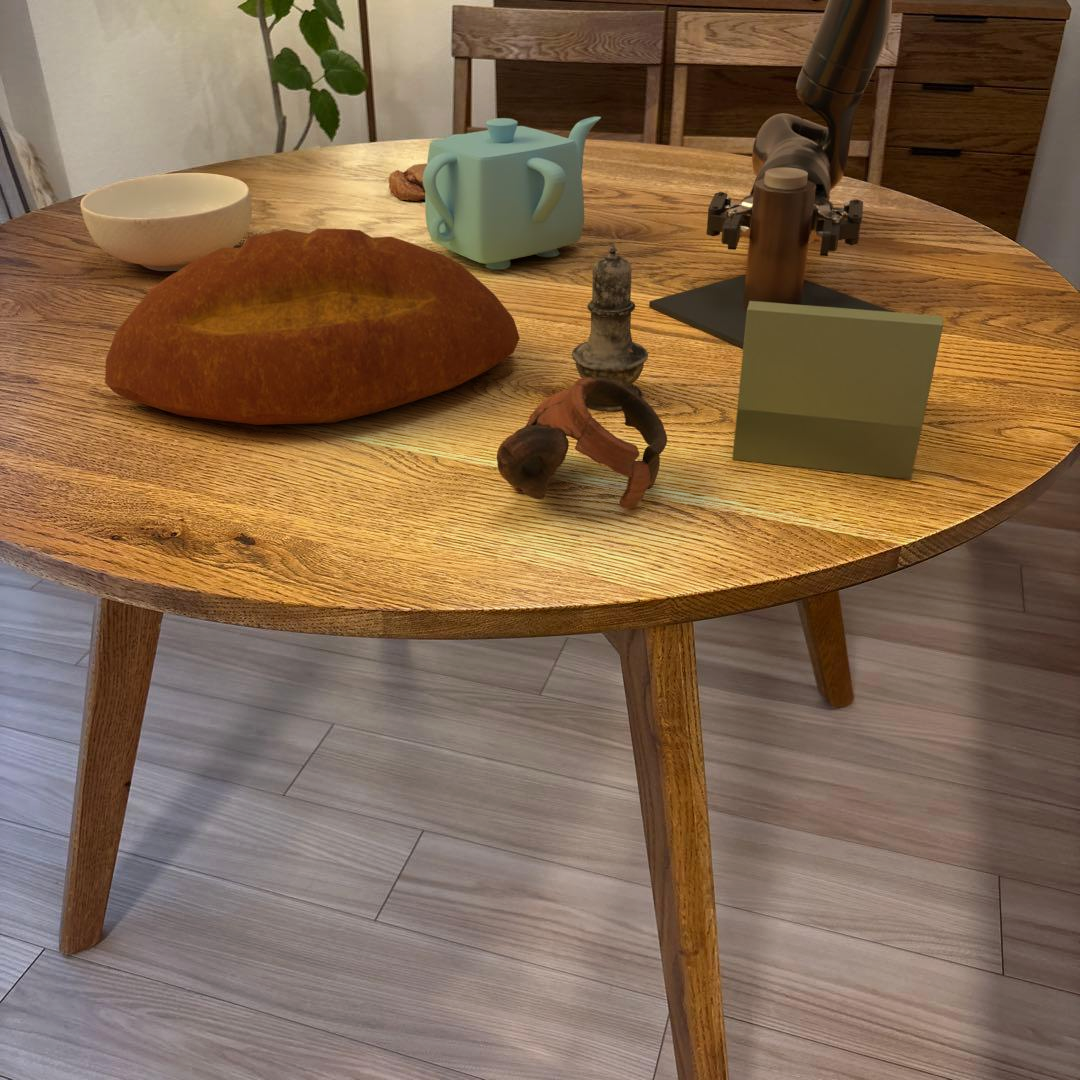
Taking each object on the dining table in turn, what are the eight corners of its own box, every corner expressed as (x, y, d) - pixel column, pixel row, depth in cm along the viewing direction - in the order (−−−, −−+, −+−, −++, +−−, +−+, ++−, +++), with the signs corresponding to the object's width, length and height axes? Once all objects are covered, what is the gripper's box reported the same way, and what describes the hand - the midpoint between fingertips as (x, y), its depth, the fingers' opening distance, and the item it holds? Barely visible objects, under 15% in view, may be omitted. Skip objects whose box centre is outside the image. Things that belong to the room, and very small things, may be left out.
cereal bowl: (61, 278, 107) (42, 209, 103) (157, 231, 120) (143, 168, 116) (205, 293, 103) (191, 221, 99) (288, 242, 116) (278, 177, 112)
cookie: (468, 202, 128) (467, 177, 127) (383, 203, 129) (380, 178, 127) (474, 182, 137) (473, 158, 135) (394, 182, 137) (392, 158, 135)
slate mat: (770, 272, 105) (770, 267, 105) (898, 319, 94) (899, 313, 94) (648, 307, 98) (649, 301, 97) (772, 362, 87) (773, 355, 86)
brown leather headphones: (559, 442, 76) (618, 358, 71) (638, 537, 73) (706, 456, 68) (440, 464, 67) (498, 369, 63) (525, 573, 64) (593, 482, 59)
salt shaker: (558, 389, 83) (557, 239, 76) (621, 374, 85) (626, 228, 78) (594, 418, 78) (597, 262, 72) (660, 402, 81) (669, 249, 74)
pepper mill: (771, 292, 99) (785, 162, 92) (812, 308, 95) (830, 173, 89) (731, 304, 96) (743, 171, 90) (771, 321, 93) (787, 183, 86)
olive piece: (748, 388, 82) (763, 251, 76) (906, 404, 80) (934, 263, 74) (732, 459, 73) (747, 309, 67) (911, 479, 70) (943, 325, 64)
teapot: (560, 283, 104) (561, 142, 96) (406, 271, 107) (395, 133, 100) (599, 230, 118) (602, 104, 111) (462, 221, 122) (456, 98, 115)
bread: (543, 420, 78) (541, 258, 72) (89, 462, 74) (41, 293, 67) (502, 319, 96) (498, 181, 89) (133, 348, 91) (98, 205, 84)
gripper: (721, 149, 103) (699, 193, 90) (871, 156, 100) (870, 202, 87) (715, 225, 107) (693, 277, 94) (859, 234, 104) (857, 289, 91)
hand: (778, 241), depth 90 cm, fingers open, 7 cm apart
